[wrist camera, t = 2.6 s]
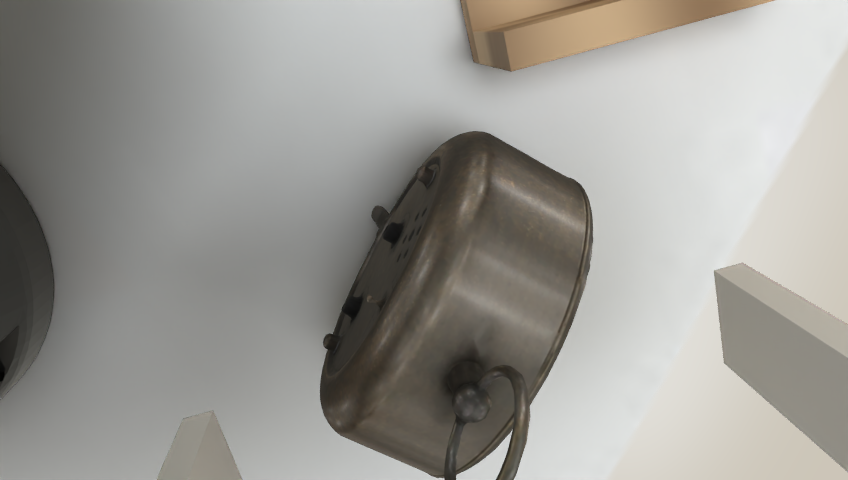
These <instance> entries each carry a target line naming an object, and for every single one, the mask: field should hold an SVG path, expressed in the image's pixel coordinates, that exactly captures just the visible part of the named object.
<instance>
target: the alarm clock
mask: <svg viewBox="0 0 848 480" xmlns="http://www.w3.org/2000/svg"><path fill="white" fill-rule="evenodd" d="M372 219H373V220H374V221H375V222H376V224H377V225H378V227H379V231H378V233H377V237H376V240H375V242H374V243H373V245H372V247H371V249H370V251H369V253H368V255H367V257H366V259H365V261H364V263H363V265H362V267H361V269H360V271H359V273H358V275H357V277H356V280H355V282H354V284H353V286H352V288H351V290H350V293H349V295H348V297H347V299H346V302H345V304H344V305H343V307H342V311H341V314H340V316H339V319H338V321H337V324H336V327H335V329H334V332H333V334H327V335H326V336H325V338H324V341H323V345H324V347H325V348H326V349H328V350H327V353H326V357H325V361H324V365H323V369H322V375H321V383H320V400H321V406H322V409H323V413H324V416H325V417H326V419H327V421H328V423H329V424H330V426H331V427H332V428H333V429H334V430H335V431H336V432H337V433H338V434H340V435H341V436H343V437H345V438H348V439H350V440H352V441H354V442H357V443H359V444H361V445H364V446H366V447H368V448H371V449H373V450H375V451H378V452H380V453H382V454H385V455H387V456H389V457H392V458H394V459H396V460H399V461H401V462H403V463H405V464H408V465H410V466H412V467H415V468H417V469H419V470H422V471H424V472H426V473H428V474H429V475H431V476H434V477H437V478H445V480H456V475H457V474H459V473H461V472H463V471H465V470H467V469H469V468H471V467H472V466H474V465H475V464H477V463H479V462H480V461H481V460H483V459H484V458H485V457H486V456H488V455H489V454H490V453H491V452H492V451H494V450H495V449H496V448H497V447H498V446H499V445H500V443H501V442H502V441H503V440H504V439H505V438H506V436H507V435H508V434H509V433H510V432H511V431H512V429H513V431H512V435H511V440H510V444H509V448H508V452H507V455H506V458H505V460H504V463H503V465H502V468H501V471H500V473H499V475H498V477H497V479H496V480H514V478H515V476H516V473H517V470H518V467H519V463H520V460H521V457H522V454H523V451H524V448H525V445H526V442H527V435H528V427H529V421H530V404H531V403H532V401H533V399H534V398H535V396H536V395H537V393H538V391H539V390H540V388H541V386H542V385H543V383H544V381H545V380H546V378H547V376H548V374H549V372H550V370H551V368H552V366H553V364H554V362H555V360H556V358H557V356H558V354H559V352H560V350H561V348H562V346H563V344H564V341H565V339H566V336H567V334H568V332H569V329H570V327H571V325H572V322H573V319H574V316H575V314H576V311H577V308H578V305H579V302H580V299H581V297H582V294H583V291H584V288H585V285H586V280H587V275H588V272H589V269H590V260H591V254H592V243H593V219H592V212H591V207H590V203H589V199H588V196H587V194H586V192H585V190H584V189H583V187H582V185H580V184H579V183H578V182H576V181H575V180H574V179H571V178H568V177H566V176H564V175H562V174H560V173H558V172H556V171H555V170H553V169H551V168H549V167H547V166H546V165H544V164H542V163H540V162H539V161H537V160H535V159H533V158H532V157H530V156H528V155H526V154H525V153H523V152H521V151H519V150H517V149H516V148H514V147H512V146H510V145H509V144H507V143H505V142H503V141H502V140H500V139H498V138H496V137H494V136H493V135H491V134H488V133H485V132H478V131H473V132H467V133H463V134H460V135H457V136H455V137H453V138H451V139H450V140H448V141H447V142H445V143H444V144H442V145H441V146H440V147H439V148H438V149H437V150H436V151H435V152H433V153H432V154H431V156H430V157H429V158H428V159H427V160H426V161H425V162H424V164H423V165H422V166H421V167H420V168H419V169H418V170H417V173H416V174H415V176H414V177H413V178H412V180H411V181H410V183H409V184H408V186H407V187H406V189H405V190H404V192H403V193H402V195H401V197H400V198H399V200H398V201H397V203H396V204H395V206H394V208H393V210H392V211H391V213H390V215H389V214H388V213H387V211H386V210H385V209H384V208H383V207H381V206H375V207H374V209H373V211H372Z"/></svg>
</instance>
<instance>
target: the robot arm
mask: <svg viewBox="0 0 848 480" xmlns="http://www.w3.org/2000/svg"><path fill="white" fill-rule="evenodd" d="M714 276H715V285H716V294H717V303H718V312H719V322H720V331H721V340H722V348H723V358H724V363H725V364H726V365H727V366H728V367H729V368H730V369H731V370H733V371H734V372H735V373H736V374H737V375H738V376H739V377H740V378H742V379H743V380H744V381H745V382H746V383H747V384H748V385H749V386H751V387H752V388H753V389H754V390H755V391H756V392H757V393H759V394H760V395H761V396H762V397H763V398H764V399H765V400H766V401H768V402H769V403H770V404H771V405H772V406H773V407H774V408H776V409H777V410H778V411H779V412H780V413H781V414H782V415H783V416H785V417H786V418H787V419H788V420H789V421H790V422H791V423H793V424H794V425H795V426H796V427H797V428H798V429H799V430H800V431H802V432H803V433H804V434H805V435H806V436H807V437H809V438H810V439H811V440H812V441H813V442H814V443H815V444H816V445H817V446H819V447H820V448H821V449H822V450H823V451H824V452H826V453H827V454H828V455H829V456H830V457H831V458H832V459H833V460H835V461H836V462H837V463H838V464H839V465H840V466H841V467H843V468H844V469H845V470H846V471H847V472H848V324H847V323H845V322H843V321H842V320H840V319H838V318H837V317H835V316H833V315H831V314H830V313H828V312H826V311H825V310H823V309H821V308H819V307H818V306H816V305H814V304H813V303H811V302H809V301H807V300H806V299H804V298H802V297H801V296H799V295H797V294H795V293H794V292H792V291H790V290H789V289H787V288H785V287H783V286H782V285H780V284H778V283H777V282H775V281H773V280H771V279H770V278H768V277H766V276H764V275H763V274H761V273H759V272H758V271H756V270H754V269H752V268H751V267H749V266H747V265H746V264H744V263H740V264H736V265H732V266H729V267H725V268H722V269H718V270H714ZM52 307H53V273H52V266H51V260H50V256H49V252H48V248H47V244H46V241H45V238H44V235H43V232H42V230H41V228H40V225H39V223H38V221H37V218H36V216H35V214H34V212H33V211H32V209H31V207H30V205H29V203H28V202H27V200H26V198H25V197H24V195H23V193H22V192H21V190H20V189H19V188H18V186H17V185H16V183H15V182H14V181H13V179H12V178H11V177H10V176H9V174H8V173H7V172H6V171H5V169H4V168H3V167H2V166H1V165H0V400H1V399H2V398H3V397H4V395H5V394H6V393H7V392H8V391H9V390H10V389H11V388H12V387H13V386H14V385H15V384H16V383H17V382H18V380H19V379H20V378H21V377H22V376H23V375H24V374H25V372H26V371H27V370H28V368H29V367H30V365H31V364H32V363H33V361H34V359H35V358H36V356H37V354H38V352H39V350H40V348H41V346H42V344H43V342H44V339H45V336H46V334H47V331H48V327H49V323H50V319H51V313H52ZM157 480H242V478H241V476H240V473H239V471H238V468H237V466H236V464H235V461H234V459H233V456H232V454H231V452H230V449H229V447H228V445H227V442H226V440H225V437H224V435H223V433H222V430H221V428H220V426H219V423H218V421H217V418H216V416H215V414H214V411H209V412H205V413H202V414H198V415H195V416H191V417H187V418H184V419H183V420H182V423H181V425H180V427H179V430H178V432H177V434H176V436H175V439H174V441H173V443H172V445H171V448H170V450H169V452H168V455H167V457H166V459H165V461H164V464H163V466H162V468H161V471H160V473H159V475H158V477H157Z"/></svg>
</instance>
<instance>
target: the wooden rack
mask: <svg viewBox="0 0 848 480" xmlns="http://www.w3.org/2000/svg"><path fill="white" fill-rule="evenodd" d="M460 1H461V6H462V10H463V15H464V20H465V24H466V29H467V33H468V38H469V43H470V47H471V52H472V56H473V61H474V62H475V63H479V64H483V65H487V66H491V67H495V68H499V69H503V70H507V71H515V70H519V69H522V68H526V67H530V66H534V65H537V64H541V63H545V62H548V61H552V60H556V59H559V58H563V57H567V56H571V55H574V54H578V53H582V52H585V51H589V50H593V49H597V48H600V47H604V46H608V45H611V44H615V43H619V42H622V41H626V40H630V39H634V38H637V37H641V36H645V35H648V34H652V33H656V32H659V31H663V30H667V29H671V28H674V27H678V26H682V25H685V24H689V23H693V22H697V21H700V20H704V19H708V18H711V17H715V16H719V15H722V14H726V13H730V12H734V11H737V10H741V9H745V8H748V7H752V6H756V5H760V4H763V3H767V2H771V1H774V0H460Z"/></svg>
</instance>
